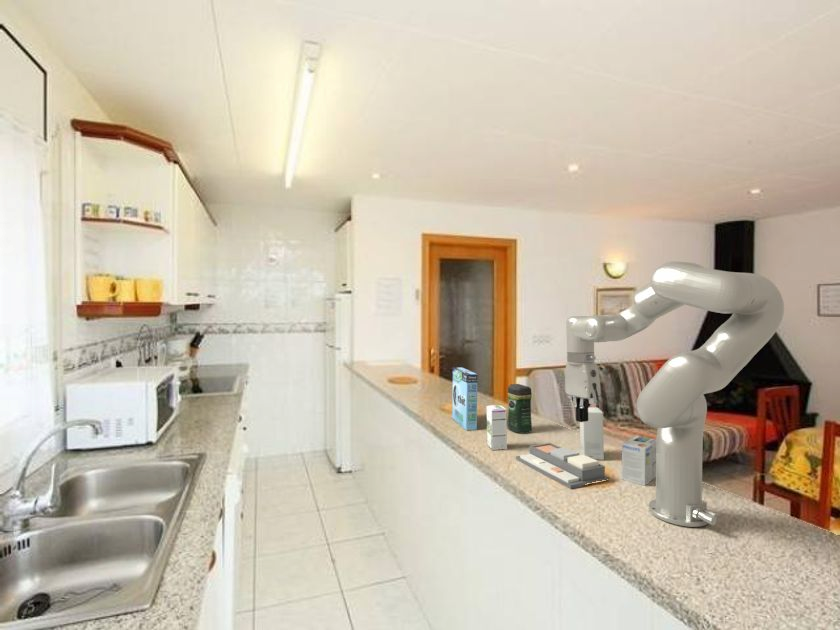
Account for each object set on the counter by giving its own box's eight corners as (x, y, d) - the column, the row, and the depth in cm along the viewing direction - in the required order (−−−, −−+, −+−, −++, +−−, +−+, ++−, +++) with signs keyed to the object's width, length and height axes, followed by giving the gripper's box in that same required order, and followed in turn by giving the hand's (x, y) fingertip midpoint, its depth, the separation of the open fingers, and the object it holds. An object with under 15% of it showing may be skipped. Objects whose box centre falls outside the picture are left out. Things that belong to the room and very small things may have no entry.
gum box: (452, 419, 195) (451, 367, 195) (463, 418, 196) (462, 367, 196) (466, 431, 176) (465, 374, 176) (478, 430, 177) (478, 373, 177)
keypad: (609, 480, 126) (609, 466, 126) (570, 488, 120) (570, 474, 120) (550, 453, 149) (550, 441, 149) (516, 459, 143) (515, 447, 143)
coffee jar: (535, 432, 173) (535, 385, 173) (518, 435, 170) (518, 387, 170) (521, 426, 182) (521, 382, 182) (504, 428, 179) (504, 383, 179)
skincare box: (604, 460, 142) (604, 412, 142) (582, 459, 143) (582, 411, 143) (598, 452, 150) (599, 406, 150) (578, 451, 151) (578, 406, 151)
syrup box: (507, 449, 153) (507, 408, 153) (491, 450, 152) (491, 408, 152) (501, 444, 159) (501, 404, 159) (486, 445, 158) (486, 405, 158)
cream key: (598, 469, 127) (598, 461, 127) (582, 472, 124) (582, 464, 124) (583, 462, 132) (583, 454, 132) (567, 465, 130) (567, 457, 130)
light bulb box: (634, 469, 134) (634, 434, 134) (658, 475, 129) (658, 439, 129) (620, 479, 127) (621, 442, 126) (645, 486, 122) (646, 447, 122)
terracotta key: (562, 458, 141) (562, 450, 141) (546, 460, 138) (546, 453, 138) (549, 452, 146) (549, 445, 146) (534, 454, 144) (534, 447, 144)
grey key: (579, 461, 134) (579, 453, 134) (563, 464, 131) (563, 455, 131) (565, 455, 139) (565, 447, 139) (550, 457, 137) (550, 449, 137)
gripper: (610, 359, 123) (612, 425, 123) (572, 355, 137) (574, 414, 137) (589, 361, 120) (591, 428, 120) (553, 357, 134) (554, 417, 134)
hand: (582, 420), depth 128 cm, fingers closed
